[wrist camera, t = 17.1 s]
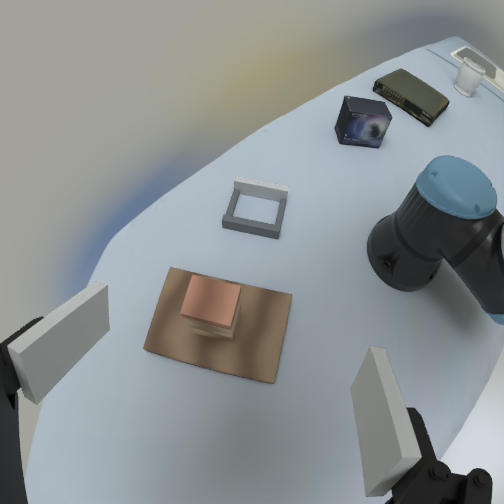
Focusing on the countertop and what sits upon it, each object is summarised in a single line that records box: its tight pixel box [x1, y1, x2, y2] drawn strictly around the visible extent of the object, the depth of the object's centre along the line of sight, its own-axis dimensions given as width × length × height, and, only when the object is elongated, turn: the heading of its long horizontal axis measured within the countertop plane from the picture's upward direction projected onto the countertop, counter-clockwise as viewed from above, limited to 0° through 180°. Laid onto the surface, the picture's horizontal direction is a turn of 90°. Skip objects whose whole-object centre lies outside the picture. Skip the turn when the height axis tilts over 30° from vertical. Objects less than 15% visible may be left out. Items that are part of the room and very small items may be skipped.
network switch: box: [373, 69, 450, 127], centre depth 78 cm, size 23×23×5 cm
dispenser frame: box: [222, 176, 289, 239], centre depth 55 cm, size 10×9×4 cm
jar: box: [454, 58, 485, 97], centre depth 83 cm, size 11×10×15 cm
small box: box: [335, 96, 392, 148], centre depth 63 cm, size 11×6×10 cm, turn 91°
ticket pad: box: [180, 275, 241, 343], centre depth 40 cm, size 6×5×11 cm
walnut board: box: [143, 267, 292, 384], centre depth 46 cm, size 20×14×2 cm
